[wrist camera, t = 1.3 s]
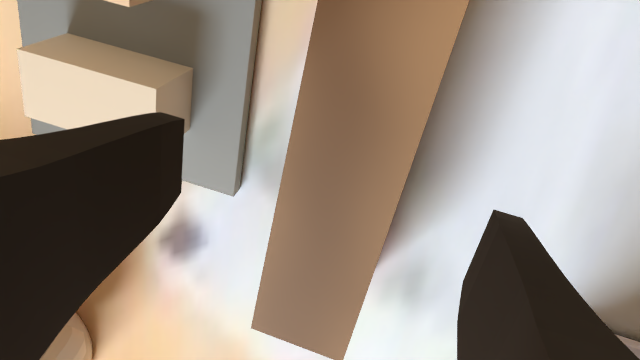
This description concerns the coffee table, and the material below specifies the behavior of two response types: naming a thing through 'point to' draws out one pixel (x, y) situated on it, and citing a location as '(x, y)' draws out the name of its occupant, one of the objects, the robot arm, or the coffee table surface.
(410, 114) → the case
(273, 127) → the coffee table surface
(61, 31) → the stand
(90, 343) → the cup
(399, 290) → the coffee table surface
